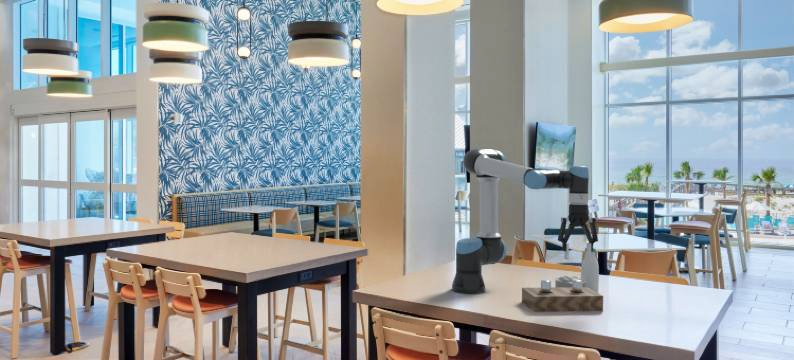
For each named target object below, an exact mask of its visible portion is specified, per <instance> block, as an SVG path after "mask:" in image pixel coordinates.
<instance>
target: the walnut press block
mask: <svg viewBox="0 0 794 360" xmlns="http://www.w3.org/2000/svg"><path fill="white" fill-rule="evenodd" d="M521 303H522V304H523V305H525V306H526V307H527V308H528V309H530V310H531V311H532V312H533V313H542V312H544V313H545V312H549V313H550V312H551V313H553V312H555V313H556V312H603V311H604V295H602V294H600V293H599V292H595V291H593V290H591V289H589V288H587V287H582V293H573V292H572V287H557V288H555V287H551V293H541V287H521Z"/></svg>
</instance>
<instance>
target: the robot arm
mask: <svg viewBox="0 0 794 360" xmlns="http://www.w3.org/2000/svg"><path fill="white" fill-rule="evenodd" d="M462 162H463V163H462V165H463V167H464V169H465V170H466V171H467V172H468V173H470V174H472V175H475V178H476V180H478V182H479V232H478V233H477V234H476V237H467V238H462V239H459V240H458V241H457V242H456V247H455V275H454V279H453V280H452V284H451V290H452V291H453V292H455V293H460V294H468V295H469V294H472V295H473V294H482V293H484V292H486V284H485V282H484V281H485V280H484V277H483V274H482V271H483V269H482V267H483V266H487V265H495V264H497V263H500V262H502V261H503V260H504V259H505V257H506V256H507V255H506V254H507V245H506V243H505V242H504V240H503V239H502V235H501V234H500V233H499V181H500V180H501V179H502V180H505V181H508V182H512V183H516V184H520V185H524V186H526V187H527V188H528V189H531V190H543V189H544V190H545V189H550V190H551V189H564V190H565V189H566V190H567V189H568V203H569V204H568V215H567V217H563V216H562V217H560V222H561V223H560V228H559V232H558V237H557V241H558V242H561V243H562V244H561V247H562V248H561V250H562V251H563V252H564V253H563V254H564V256H563V258H564V259H565V260H567V261H569V259H570V258H569V255H570V254H569V253H570V252H569V251H570V248H569V247H570V245H569V243H568V241H569V239H570V237H571V235H572V233H573V230H574V229H576V227H577V228H578V227H580V228H581V229H582V230H583V233H584V234H585V237H586V239H587V242H586V248H587V255H586V258H587V259H589V260H591V251H593V248H594V244H595V243H596V242H597V243H598V242H599V237H598V232H597V228H596V218H595V217H593V216H592V217H590V216H589V205H588V203H589V182H590V181H589V179H590V174H589V167H588V166H586V165H570V167H569V169H568V170H555V169H553V170H552V169H550V170H543V169H542V170H541V169H536V168H532V167H529V166H528V167H527V166H524V165H520V164H515V163H512V162H508V161H507V160H506V157H505V155H504V154H503V153H502V151H499V150H497V149H491V148H490V149H487V148H485V149H483V148H482V149H481V148H474V149H470V150H469V151H467V152H466V153H465V154H464V156H463V159H462ZM568 222H569V224H568V228H567V223H568ZM588 222H589V227H590V230H589V228H588V224H587V223H588ZM566 229H567V230H566ZM590 232H591V233H590Z"/></svg>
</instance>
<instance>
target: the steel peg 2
mask: <svg viewBox="0 0 794 360" xmlns="http://www.w3.org/2000/svg"><path fill="white" fill-rule="evenodd" d="M572 292H573V293H582V280H572Z"/></svg>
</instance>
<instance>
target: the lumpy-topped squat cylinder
mask: <svg viewBox="0 0 794 360" xmlns="http://www.w3.org/2000/svg"><path fill="white" fill-rule="evenodd" d="M572 280H582V279H581V277H580V278H579V277H578V276H576V275H573V276H571V277H570V276H568V275H563V276H560V277H557V278H555V281H554V282H555V283H554V284H555V285H554V288H557V287H572ZM586 283H587V282H586V281H583V280H582V287H586Z"/></svg>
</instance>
